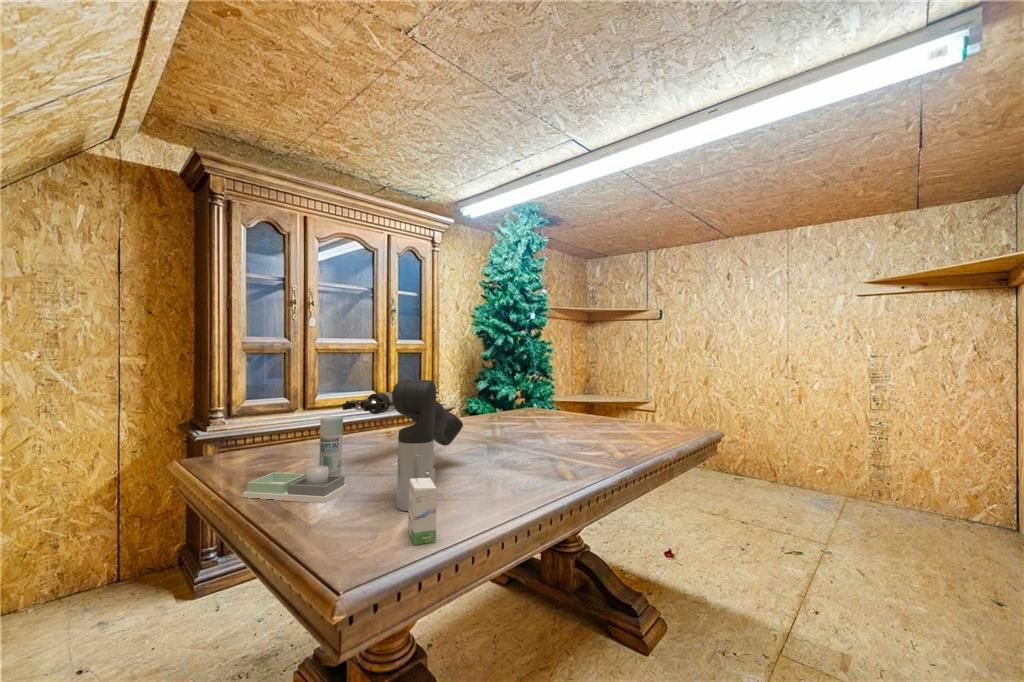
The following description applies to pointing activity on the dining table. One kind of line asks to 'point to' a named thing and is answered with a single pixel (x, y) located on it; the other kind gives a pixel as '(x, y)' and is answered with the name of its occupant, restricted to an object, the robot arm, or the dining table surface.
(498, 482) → the dining table surface
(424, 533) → the ink box
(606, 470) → the dining table surface
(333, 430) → the spray paint can
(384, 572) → the dining table surface
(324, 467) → the double tray
